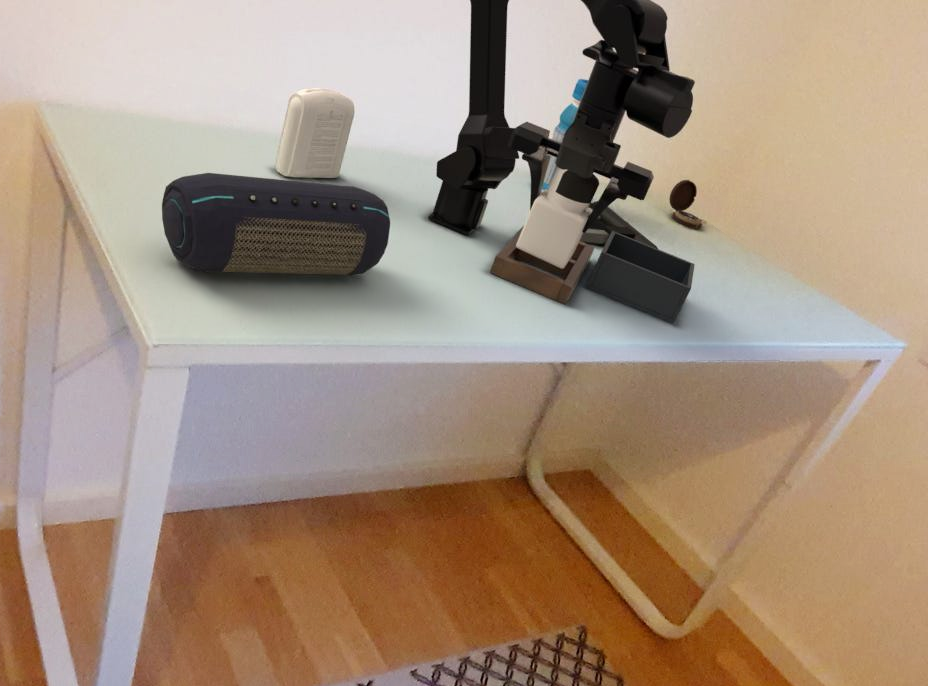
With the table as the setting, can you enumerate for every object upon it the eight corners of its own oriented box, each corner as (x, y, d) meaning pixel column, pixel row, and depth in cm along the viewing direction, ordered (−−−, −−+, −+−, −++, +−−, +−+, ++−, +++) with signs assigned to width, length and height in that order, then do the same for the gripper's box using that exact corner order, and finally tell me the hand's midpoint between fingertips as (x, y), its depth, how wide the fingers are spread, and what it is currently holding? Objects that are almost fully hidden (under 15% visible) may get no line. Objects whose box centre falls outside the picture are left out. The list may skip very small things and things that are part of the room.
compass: (684, 228, 165) (700, 192, 161) (660, 211, 171) (676, 176, 167) (713, 232, 169) (730, 198, 165) (689, 215, 175) (705, 182, 171)
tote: (585, 287, 120) (601, 252, 118) (597, 263, 131) (612, 230, 128) (673, 324, 119) (691, 288, 116) (678, 297, 129) (694, 263, 127)
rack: (489, 272, 114) (495, 256, 113) (522, 234, 132) (528, 219, 130) (565, 304, 113) (572, 288, 111) (588, 261, 130) (595, 247, 129)
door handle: (588, 242, 130) (670, 249, 137) (531, 191, 145) (608, 199, 152) (581, 262, 132) (662, 268, 139) (525, 209, 146) (602, 217, 153)
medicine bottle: (572, 255, 119) (609, 175, 113) (563, 270, 113) (601, 186, 107) (526, 234, 120) (560, 153, 113) (514, 247, 113) (549, 163, 107)
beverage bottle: (524, 183, 156) (564, 74, 146) (552, 184, 162) (592, 78, 152) (557, 203, 152) (600, 92, 142) (585, 203, 158) (628, 96, 148)
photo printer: (325, 168, 129) (344, 86, 123) (342, 180, 127) (363, 97, 121) (269, 167, 122) (286, 81, 116) (286, 180, 120) (305, 92, 114)
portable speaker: (177, 289, 84) (192, 194, 79) (147, 243, 91) (159, 153, 86) (390, 291, 99) (414, 212, 94) (352, 252, 106) (372, 175, 101)
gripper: (520, 85, 100) (478, 208, 108) (668, 143, 98) (615, 265, 106) (538, 77, 110) (499, 190, 117) (674, 129, 108) (625, 242, 115)
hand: (557, 221), depth 114 cm, fingers closed on medicine bottle, 7 cm apart
